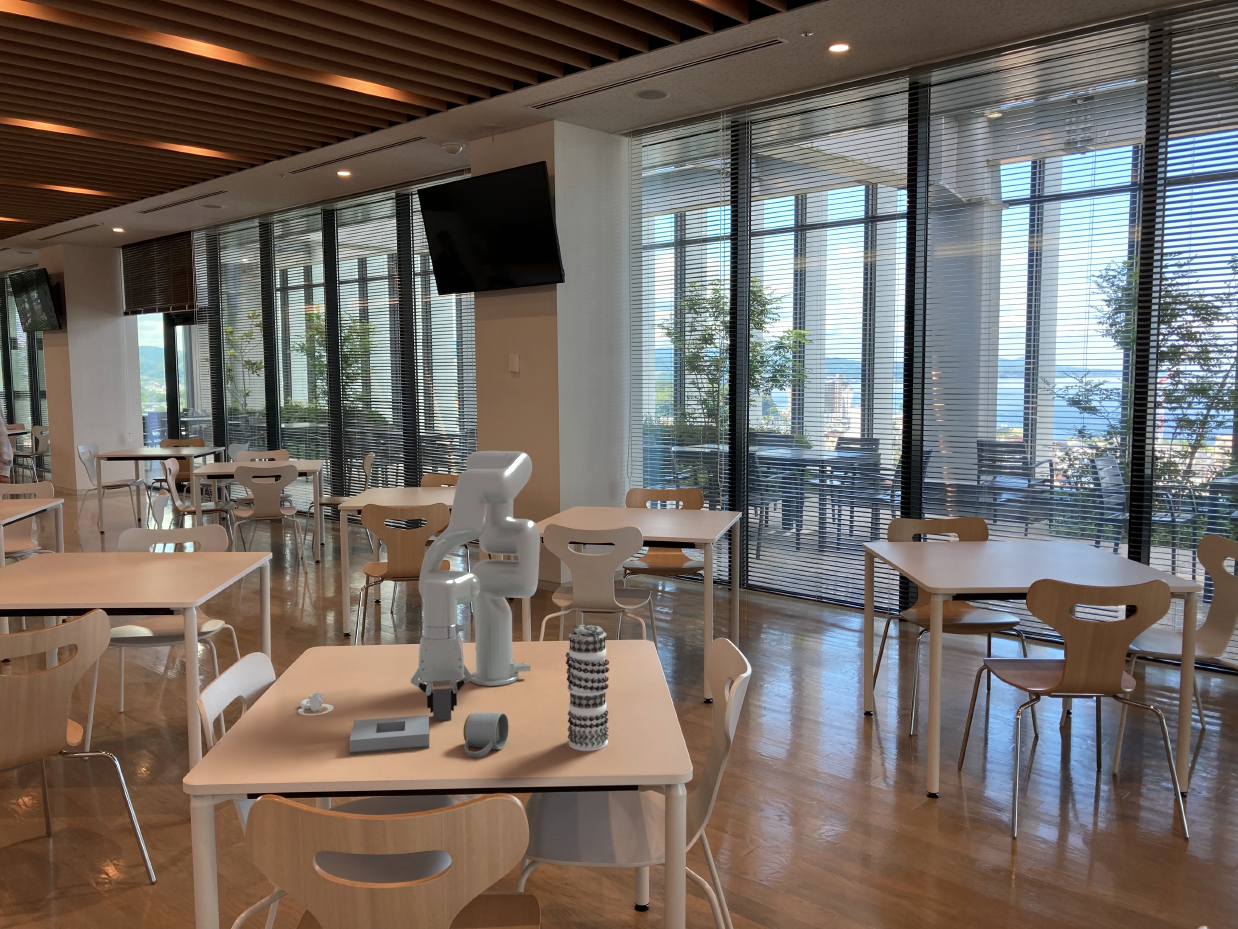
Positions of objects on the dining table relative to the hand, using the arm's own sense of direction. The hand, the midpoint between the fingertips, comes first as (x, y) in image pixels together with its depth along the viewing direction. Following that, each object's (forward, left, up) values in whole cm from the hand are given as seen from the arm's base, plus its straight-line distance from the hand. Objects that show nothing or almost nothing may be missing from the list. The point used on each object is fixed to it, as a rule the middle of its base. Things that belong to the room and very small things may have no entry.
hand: (442, 709), depth 207 cm
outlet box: (+11, +12, -2) cm, 16 cm away
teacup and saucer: (+28, -15, -3) cm, 32 cm away
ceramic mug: (-8, +21, -2) cm, 23 cm away
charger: (0, 0, -2) cm, 2 cm away
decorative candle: (-30, +23, -2) cm, 38 cm away
